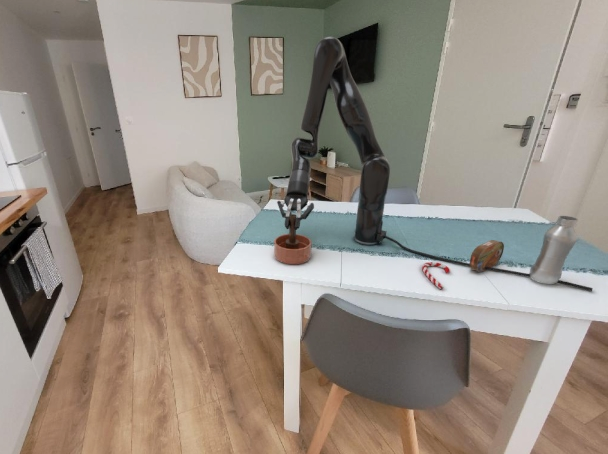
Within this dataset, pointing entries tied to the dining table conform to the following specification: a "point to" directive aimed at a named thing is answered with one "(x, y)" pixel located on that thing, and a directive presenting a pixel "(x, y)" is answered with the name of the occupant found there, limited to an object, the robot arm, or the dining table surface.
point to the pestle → (292, 234)
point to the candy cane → (431, 275)
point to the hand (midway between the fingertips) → (291, 228)
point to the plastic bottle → (554, 251)
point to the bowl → (292, 250)
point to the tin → (486, 255)
